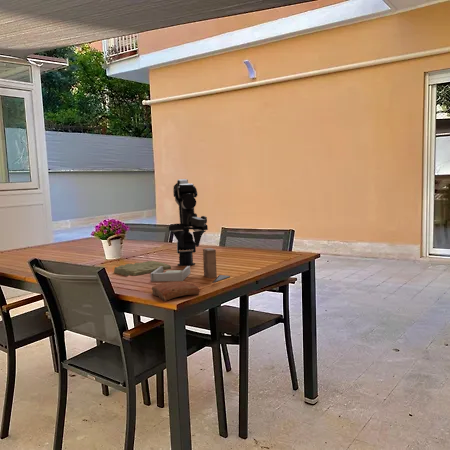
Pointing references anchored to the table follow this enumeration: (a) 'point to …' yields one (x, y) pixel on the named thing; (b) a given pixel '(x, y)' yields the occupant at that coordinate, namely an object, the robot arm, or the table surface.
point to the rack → (169, 275)
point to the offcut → (173, 271)
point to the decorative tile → (140, 268)
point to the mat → (220, 278)
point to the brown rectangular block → (209, 262)
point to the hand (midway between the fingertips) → (190, 247)
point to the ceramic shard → (174, 290)
